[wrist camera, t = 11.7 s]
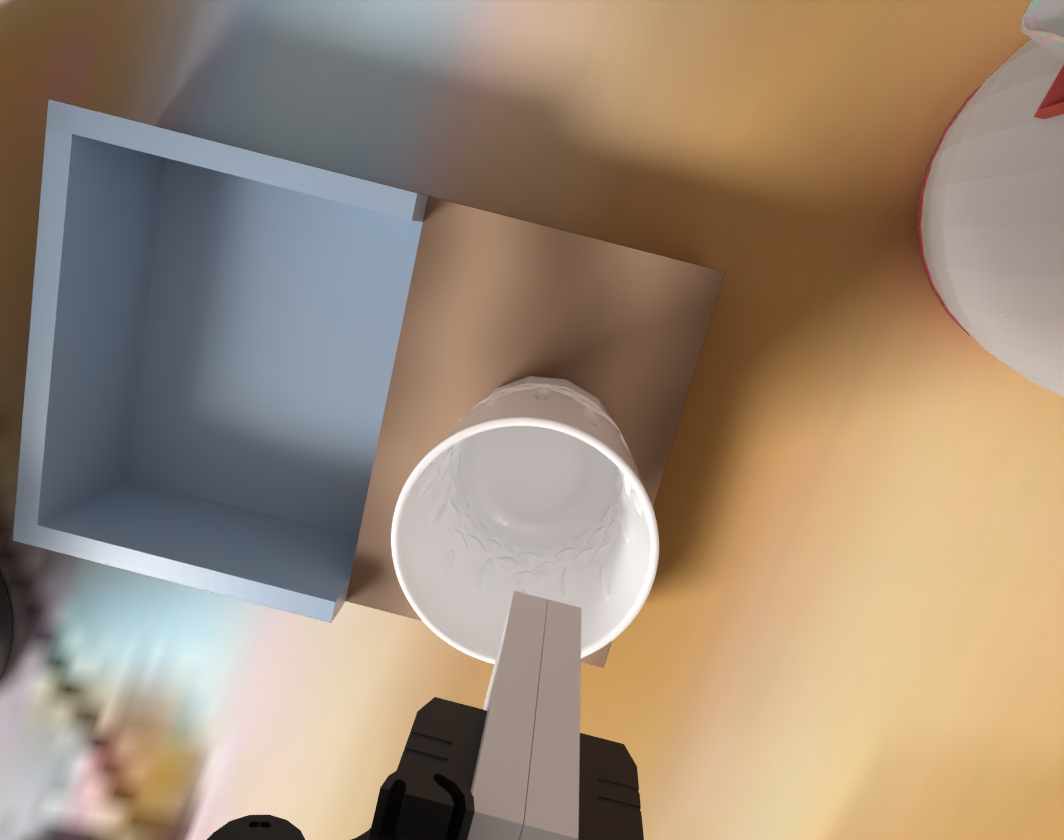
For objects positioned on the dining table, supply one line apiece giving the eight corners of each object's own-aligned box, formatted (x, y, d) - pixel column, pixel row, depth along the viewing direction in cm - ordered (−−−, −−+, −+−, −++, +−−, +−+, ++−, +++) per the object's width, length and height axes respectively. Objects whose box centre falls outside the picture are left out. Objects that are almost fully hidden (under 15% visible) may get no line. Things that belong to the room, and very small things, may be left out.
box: (112, 487, 39) (12, 540, 32) (153, 126, 35) (48, 99, 28) (375, 555, 39) (330, 622, 32) (449, 201, 34) (417, 193, 28)
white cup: (478, 336, 31) (431, 381, 21) (662, 395, 31) (699, 468, 21) (427, 508, 33) (361, 623, 23) (600, 564, 33) (607, 701, 23)
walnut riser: (375, 555, 39) (345, 600, 34) (449, 201, 34) (428, 196, 30) (601, 613, 39) (603, 667, 34) (705, 267, 34) (725, 271, 30)
